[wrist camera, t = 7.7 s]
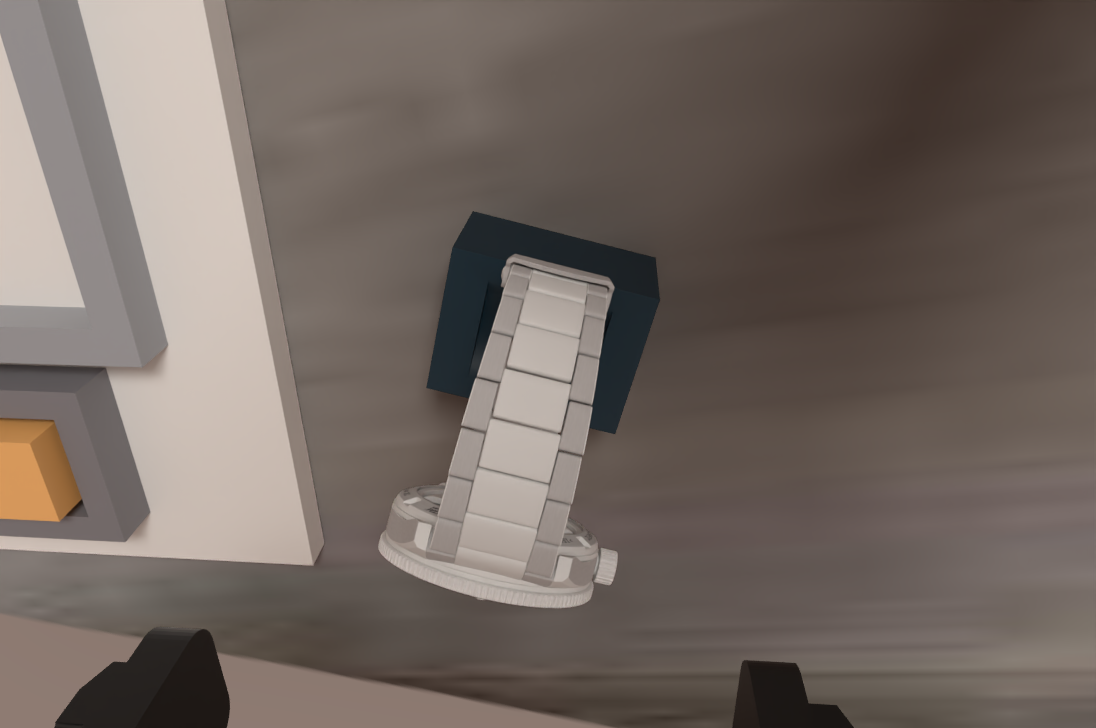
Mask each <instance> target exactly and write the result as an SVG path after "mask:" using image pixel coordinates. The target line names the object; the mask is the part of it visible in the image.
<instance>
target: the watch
mask: <svg viewBox="0 0 1096 728" xmlns="http://www.w3.org/2000/svg"><path fill="white" fill-rule="evenodd" d="M659 301H660V296H659V287H658V278H657V268H656V259H655V258H654V257H650V256H646V255H642V254H638V253H634V252H631V251H627V250H623V249H619V248H615V247H611V246H607V245H603V244H599V243H595V242H591V241H587V240H583V239H580V238H576V237H572V236H568V235H564V234H560V233H556V232H552V231H548V230H544V229H540V228H536V227H532V226H529V225H525V224H521V223H517V222H513V221H509V220H505V219H501V218H497V217H493V216H489V215H485V214H481V213H478V212H474V211H473V212H472V214H471V216H470V218H469V219H468V221H467V223H466V225H465V226H464V228H463V230H462V232H461V233H460V235H459V237H458V239H457V240H456V242H455V244H454V246H453V248H452V253H451V259H450V264H449V269H448V275H447V280H446V286H445V291H444V296H443V302H442V307H441V312H440V318H439V323H438V329H437V334H436V339H435V345H434V350H433V355H432V361H431V366H430V372H429V377H428V382H427V388H429V389H433V390H437V391H441V392H445V393H449V394H454V395H458V396H462V397H466V398H469V401H468V404H467V407H466V411H465V414H464V417H463V421H462V424H461V425H462V426H464V427H468V428H472V429H475V430H471V429H467V428H461V431H460V434H459V438H458V441H457V445H456V448H455V452H454V455H453V458H452V462H451V465H450V469H449V472H448V474H449V476H448V479H447V483H446V482H445V483H440V484H439V485H424V486H418V487H413V488H408V489H404V490H402V491H401V492H400V493H399V494H398V495H397V497H396V498H395V499H394V500H393V504H392V507H391V511H390V515H389V519H388V523H387V527H386V531H384V532H383V533H382V534H381V537H380V541H379V545H378V548H379V551H380V553H381V554H382V555H383V557H385V559H387V560H388V561H389V562H390V563H392V564H393V565H395V566H396V567H398V568H400V569H402V570H403V571H405V572H407V573H409V574H411V575H413V576H415V577H417V578H419V579H422V580H424V581H426V582H429V583H431V584H434V585H437V586H439V587H442V588H445V589H448V590H451V591H454V592H458V593H461V594H465V595H468V596H472V597H476V599H479V600H489V601H494V602H499V603H504V604H510V605H517V606H525V607H535V608H566V607H574V606H579V605H582V604H584V603H586V602H588V601H589V600H590V598H591V596H592V591H593V587H594V586H593V582H592V577H593V581H594V582H597V583H601V584H606V585H611V583H612V581H613V578H614V575H615V572H616V567H617V552H616V551H612V550H608V549H604V548H600V549H598V543H597V539H596V537H595V536H594V535H593V534H592V533H590V532H589V531H588V530H587V529H585V528H584V527H583V526H582V525H580V524H579V523H577V522H576V521H574V520H572V519H570V518H568V515H569V511H570V504H572V502H573V498H574V494H575V489H576V484H577V480H578V475H579V470H580V466H581V460H582V457H581V456H578V455H584V451H585V446H586V441H587V436H588V430H589V428H592V429H596V430H600V431H604V432H608V433H612V434H615V433H616V430H617V427H618V424H619V421H620V418H621V415H622V412H623V409H624V406H625V403H626V400H627V397H628V394H629V391H630V388H631V385H632V382H633V379H634V376H635V373H636V370H637V367H638V364H639V361H640V358H641V355H642V352H643V349H644V346H645V343H646V340H647V337H648V334H649V331H650V328H651V325H652V322H653V319H654V316H655V313H656V310H657V307H658V304H659ZM492 410H494V411H492ZM495 417H496V419H495ZM563 422H564V423H563ZM562 425H563V427H562ZM541 429H542V430H541ZM561 429H562V431H561ZM560 432H561V435H559V434H558V433H560ZM483 442H484V443H483ZM558 449H559V450H562V451H566V452H570V453H574V454H578V455H573V454H569V453H565V452H561V451H558Z"/></svg>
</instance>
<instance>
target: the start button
mask: <svg viewBox="0 0 1096 728" xmlns="http://www.w3.org/2000/svg"><path fill="white" fill-rule="evenodd" d="M81 499H82V497H81V495H80V492H79V489H78V486H77V483H76V481H75V478H74V475H73V472H72V470H71V467H70V464H69V461H68V458H67V456H66V453H65V450H64V447H63V444H62V442H61V439H60V436H59V433H58V430H57V428H56V425H55V422H54V420H44V419H18V418H0V519H17V520H37V521H58V522H60V521H61V520H62V519H63V518H64V517H65V516H66V514H67V513H68V512H69V511H70V510H71V509H72V508H73V507H74V506H75V505H76V504H77V503H78V502H79V501H80V500H81Z"/></svg>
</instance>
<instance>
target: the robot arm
mask: <svg viewBox="0 0 1096 728" xmlns="http://www.w3.org/2000/svg"><path fill="white" fill-rule="evenodd" d="M229 710H230V701H229V694H228V691H227V687H226V684H225V680H224V677H223V673H222V670H221V666H220V663H219V659H218V656H217V652H216V649H215V645H214V641H213V638H212V636H211V634H210V632H209V631H208V630H205V629H189V628H170V627H156V628H154V629H152V630H151V631H150V632H148V633H147V635H146V636H145V637H144V638H143V640H142V641H141V643H140V644H139V646H138V647H137V649H136V650H135V651H134V653H133V654H132V656H131V657H130V659H129V660H128V661H127V662H113V663H111V664H110V665H109V666H108V667H107V668H105V669H104V670H103V671H102V672H100V673H99V674H98V675H97V676H95V677H94V678H93V679H92V680H91V681H89V682H88V683H87V684H86V685H85V686H83V687H82V688H81V689H80V690H79V691H78V692H77V694H76V695H75V696H74V698H73V699H72V700H71V702H70V703H69V705H68V706H67V707H66V709H65V710H64V711H63V713H62V714H61V715H60V717H59V718H58V719H57V721H56V722H55V723H56V724H55V728H227V724H228V718H229ZM732 728H854V727H853V726H852V725H851V723H850V722H849V721H848V719H847V718H846V717H845V716H844V714H843V713H842V712H841V710H840V709H839V708H838V706H837V705H824V704H808V700H807V696H806V692H805V688H804V684H803V680H802V677H801V673H800V670H799V668H798V666H797V664H796V663H785V662H767V661H748V660H744V661H743V663H742V666H741V672H740V679H739V686H738V692H737V699H736V706H735V713H734V720H733V727H732Z"/></svg>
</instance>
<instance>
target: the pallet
mask: <svg viewBox="0 0 1096 728" xmlns="http://www.w3.org/2000/svg"><path fill="white" fill-rule="evenodd" d="M0 418H18V419H44V420H54V422H55V425H56V428H57V430H58V433H59V436H60V439H61V442H62V444H63V447H64V450H65V453H66V456H67V458H68V461H69V464H70V467H71V470H72V472H73V475H74V478H75V481H76V483H77V486H78V489H79V492H80V495H81V497H82V499H81V500H80V501H79V502H78V503H77V504H76V505H75V506H74V507H73V508H72V509H71V510H70V511H69V512H68V513H67V514H66V516H65V517H64V518H63V519H62V520H61V521H60V522H58V521H37V520H17V519H0V549H12V550H31V551H50V552H69V553H87V554H106V555H125V556H144V557H163V558H182V559H201V560H219V561H238V562H257V563H276V564H295V565H314V563H315V561H316V559H317V557H318V555H319V553H320V551H321V549H322V547H323V545H324V538H323V533H322V527H321V522H320V516H319V511H318V505H317V500H316V494H315V489H314V484H313V478H312V473H311V467H310V462H309V456H308V451H307V445H306V440H305V434H304V429H303V424H302V418H301V413H300V407H299V402H298V396H297V391H296V385H295V380H294V374H293V369H292V363H291V358H290V353H289V347H288V342H287V336H286V331H285V325H284V320H283V314H282V309H281V303H280V298H279V293H278V287H277V282H276V276H275V271H274V265H273V260H272V254H271V249H270V243H269V238H268V233H267V227H266V222H265V216H264V211H263V205H262V200H261V194H260V189H259V183H258V178H257V173H256V167H255V162H254V156H253V151H252V145H251V140H250V134H249V129H248V123H247V118H246V113H245V107H244V102H243V96H242V91H241V85H240V80H239V74H238V69H237V63H236V58H235V53H234V47H233V42H232V36H231V31H230V25H229V20H228V14H227V9H226V3H225V0H0Z"/></svg>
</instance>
